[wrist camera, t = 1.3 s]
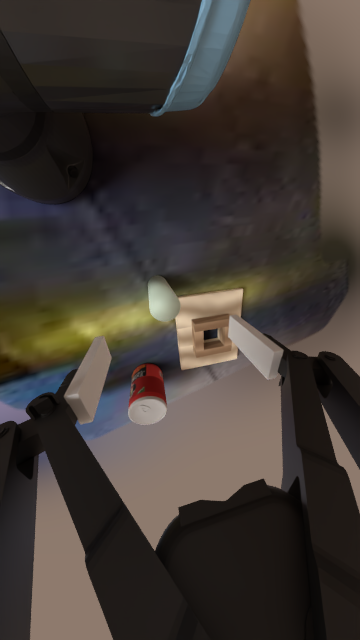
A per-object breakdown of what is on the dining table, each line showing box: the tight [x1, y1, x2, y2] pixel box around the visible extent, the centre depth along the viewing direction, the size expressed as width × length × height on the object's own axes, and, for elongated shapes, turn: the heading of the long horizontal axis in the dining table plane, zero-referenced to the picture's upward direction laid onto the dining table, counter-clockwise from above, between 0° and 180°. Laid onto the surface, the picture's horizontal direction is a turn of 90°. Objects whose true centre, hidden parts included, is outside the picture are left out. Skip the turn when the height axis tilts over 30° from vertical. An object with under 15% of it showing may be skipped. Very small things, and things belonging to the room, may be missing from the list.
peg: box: [148, 275, 181, 321], centre depth 26 cm, size 4×4×14 cm
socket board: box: [175, 288, 243, 370], centre depth 38 cm, size 20×16×4 cm
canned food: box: [129, 363, 167, 425], centre depth 36 cm, size 8×8×11 cm
